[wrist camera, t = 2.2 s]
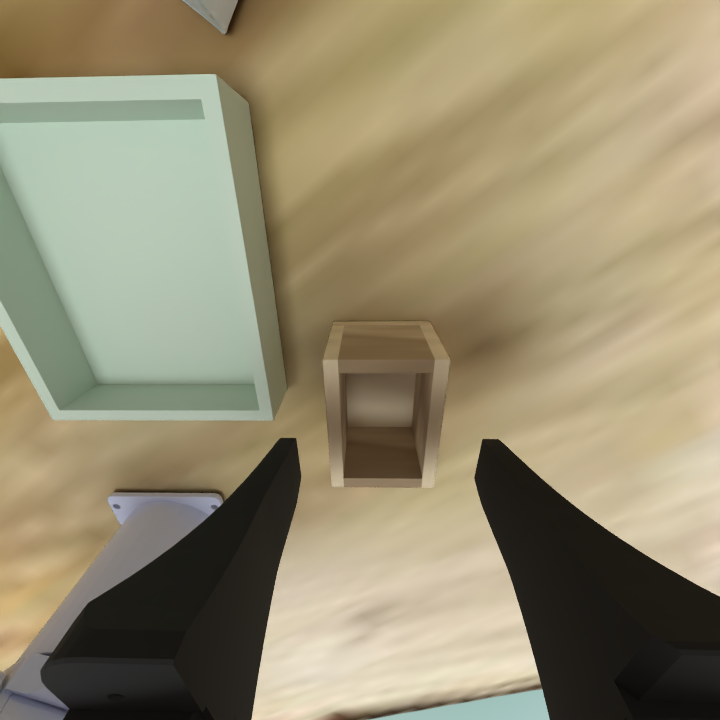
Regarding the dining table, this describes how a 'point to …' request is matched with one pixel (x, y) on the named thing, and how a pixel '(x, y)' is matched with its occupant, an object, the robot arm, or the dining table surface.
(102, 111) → the tray
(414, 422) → the pine crate
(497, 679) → the dining table surface
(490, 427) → the dining table surface
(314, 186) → the dining table surface
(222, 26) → the tea box
